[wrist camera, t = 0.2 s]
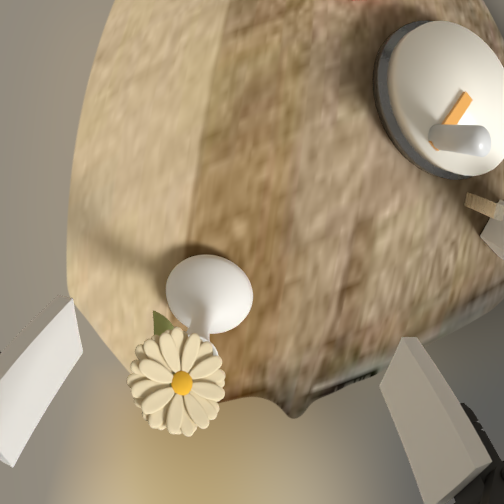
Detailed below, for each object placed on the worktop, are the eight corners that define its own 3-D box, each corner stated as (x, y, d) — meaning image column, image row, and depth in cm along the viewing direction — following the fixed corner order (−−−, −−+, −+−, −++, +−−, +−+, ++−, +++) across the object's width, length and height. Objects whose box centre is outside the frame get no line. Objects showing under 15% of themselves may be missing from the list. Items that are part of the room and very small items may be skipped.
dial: (431, 2, 24) (476, -25, 14) (517, 107, 28) (568, 110, 18) (355, 93, 30) (396, 77, 20) (459, 203, 34) (511, 226, 24)
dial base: (376, 3, 27) (397, -18, 20) (498, 60, 28) (527, 55, 21) (358, 181, 36) (380, 190, 29) (483, 211, 36) (512, 224, 30)
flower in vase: (259, 319, 43) (262, 482, 19) (182, 329, 43) (134, 479, 20) (241, 230, 38) (221, 373, 15) (155, 245, 39) (53, 376, 16)
